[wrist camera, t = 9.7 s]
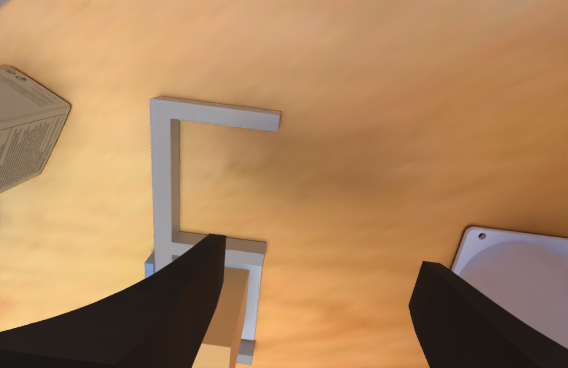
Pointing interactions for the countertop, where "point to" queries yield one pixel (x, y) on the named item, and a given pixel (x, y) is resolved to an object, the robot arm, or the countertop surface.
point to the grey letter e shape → (167, 195)
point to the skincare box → (26, 126)
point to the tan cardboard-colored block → (225, 323)
